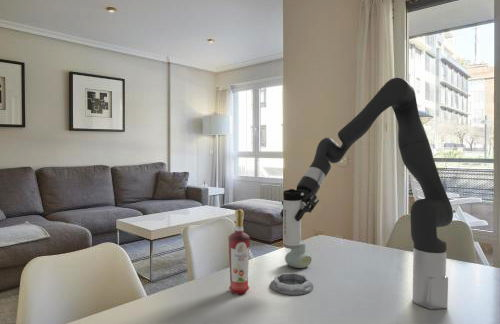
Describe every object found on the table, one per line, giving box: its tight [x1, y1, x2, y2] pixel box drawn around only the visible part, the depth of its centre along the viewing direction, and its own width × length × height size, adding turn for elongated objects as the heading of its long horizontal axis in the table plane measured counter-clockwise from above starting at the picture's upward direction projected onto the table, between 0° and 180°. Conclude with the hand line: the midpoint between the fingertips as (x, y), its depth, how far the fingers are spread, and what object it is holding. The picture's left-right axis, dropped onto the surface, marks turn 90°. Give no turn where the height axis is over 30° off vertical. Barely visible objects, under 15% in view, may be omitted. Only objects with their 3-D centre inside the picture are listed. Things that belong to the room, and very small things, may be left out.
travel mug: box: [282, 188, 302, 250], centre depth 121 cm, size 6×7×20 cm
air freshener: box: [284, 240, 313, 269], centre depth 143 cm, size 11×8×10 cm
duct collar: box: [270, 272, 314, 296], centre depth 122 cm, size 15×15×3 cm
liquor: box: [227, 209, 251, 295], centre depth 117 cm, size 7×7×28 cm
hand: (289, 218), depth 120 cm, fingers closed on travel mug, 6 cm apart
